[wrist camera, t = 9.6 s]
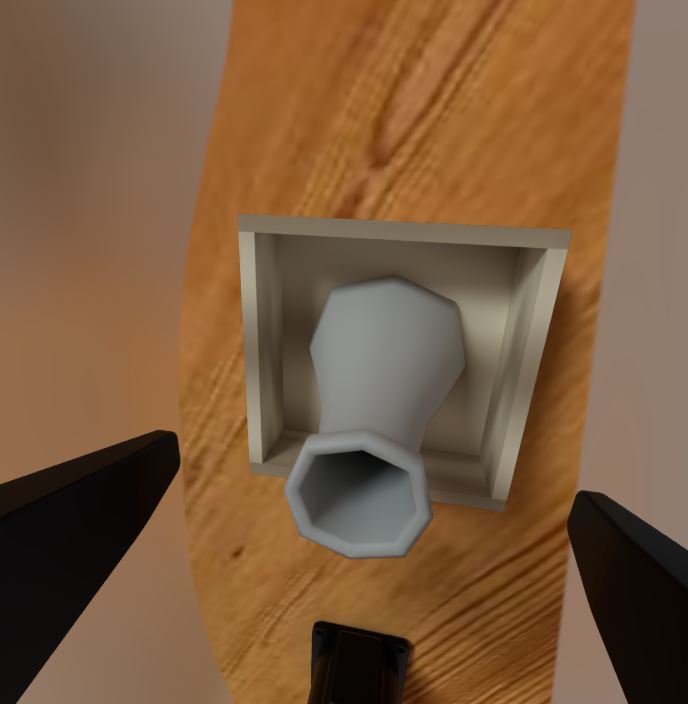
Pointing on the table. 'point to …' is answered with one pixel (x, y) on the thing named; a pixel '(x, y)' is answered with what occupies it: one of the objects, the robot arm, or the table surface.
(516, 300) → the crate
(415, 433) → the flask
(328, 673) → the robot arm
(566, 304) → the table surface
